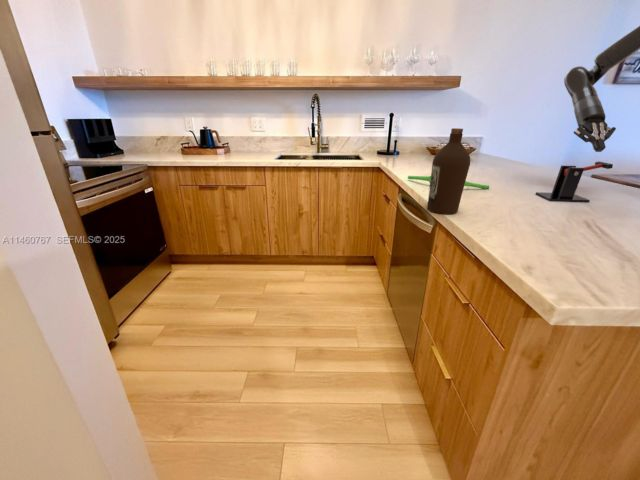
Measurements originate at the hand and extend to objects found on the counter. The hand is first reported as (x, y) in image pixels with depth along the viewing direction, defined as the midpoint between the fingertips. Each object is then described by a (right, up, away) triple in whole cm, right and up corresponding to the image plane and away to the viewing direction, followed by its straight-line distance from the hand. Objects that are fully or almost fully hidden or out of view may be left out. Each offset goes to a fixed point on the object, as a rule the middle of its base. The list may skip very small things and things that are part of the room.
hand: (600, 150), depth 101 cm
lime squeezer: (-46, -9, +21) cm, 52 cm away
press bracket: (-10, -17, +5) cm, 20 cm away
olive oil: (-59, -22, -7) cm, 63 cm away
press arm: (-6, -8, 0) cm, 9 cm away
